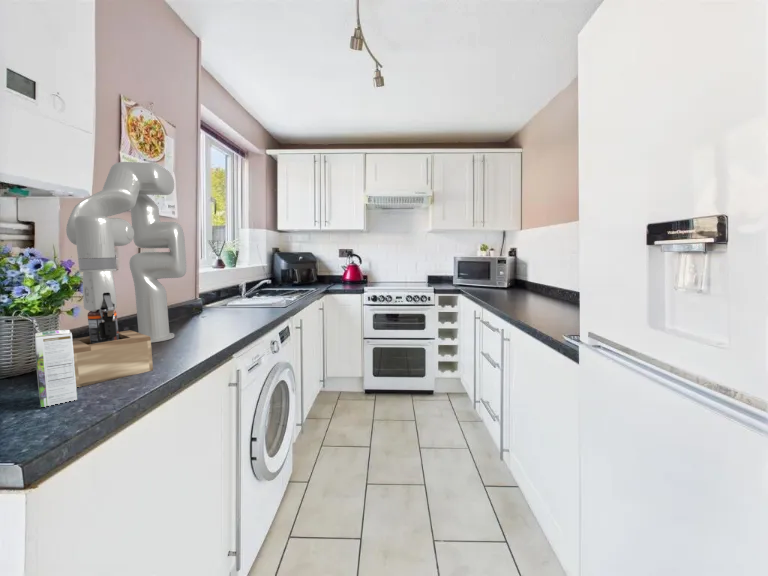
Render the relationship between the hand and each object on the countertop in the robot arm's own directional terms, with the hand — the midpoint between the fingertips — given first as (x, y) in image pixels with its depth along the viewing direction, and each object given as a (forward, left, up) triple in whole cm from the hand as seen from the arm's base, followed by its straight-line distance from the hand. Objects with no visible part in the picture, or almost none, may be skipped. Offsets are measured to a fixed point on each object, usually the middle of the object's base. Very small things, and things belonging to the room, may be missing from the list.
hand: (104, 335), depth 95 cm
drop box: (0, 0, -10) cm, 10 cm away
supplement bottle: (0, 0, -3) cm, 3 cm away
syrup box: (+15, -12, -10) cm, 21 cm away
